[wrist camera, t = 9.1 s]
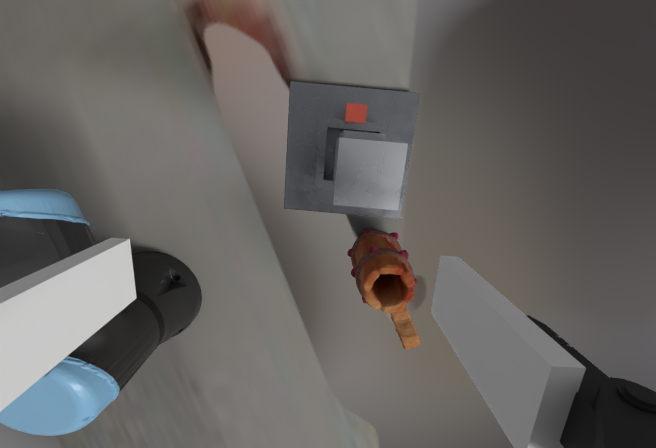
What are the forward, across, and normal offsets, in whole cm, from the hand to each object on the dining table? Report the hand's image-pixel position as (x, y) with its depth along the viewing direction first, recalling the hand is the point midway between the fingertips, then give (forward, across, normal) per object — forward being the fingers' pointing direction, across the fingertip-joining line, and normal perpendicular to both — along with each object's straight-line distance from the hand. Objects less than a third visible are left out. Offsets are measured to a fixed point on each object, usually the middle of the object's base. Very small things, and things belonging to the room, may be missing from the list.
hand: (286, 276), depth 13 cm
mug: (+35, +11, -13) cm, 39 cm away
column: (+26, +5, +4) cm, 27 cm away
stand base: (+34, +5, +4) cm, 35 cm away
